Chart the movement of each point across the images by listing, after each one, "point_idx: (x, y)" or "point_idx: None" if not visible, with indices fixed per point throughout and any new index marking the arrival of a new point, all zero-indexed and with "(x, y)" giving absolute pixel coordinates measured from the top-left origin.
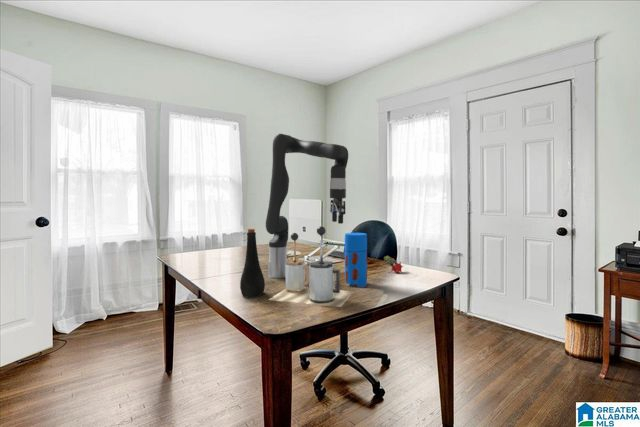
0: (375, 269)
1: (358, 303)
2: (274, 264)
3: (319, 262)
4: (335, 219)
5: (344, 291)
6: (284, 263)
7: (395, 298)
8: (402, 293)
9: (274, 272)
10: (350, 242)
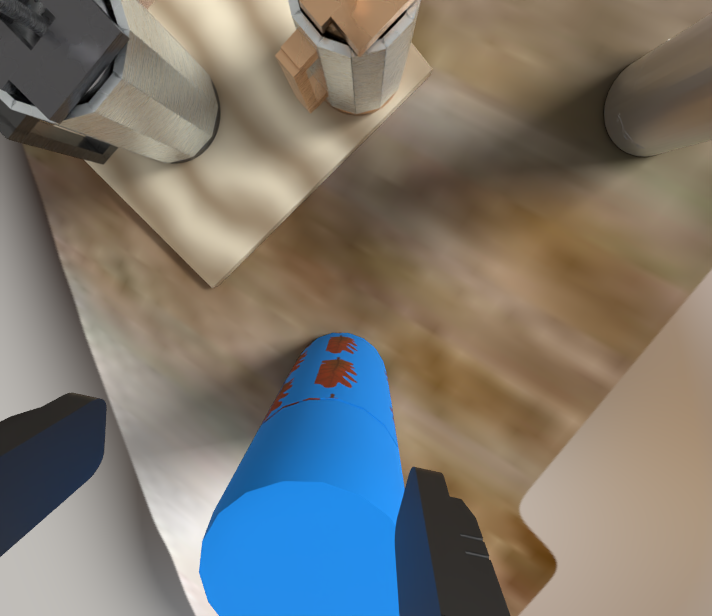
0: (508, 582)
1: (115, 238)
2: (705, 18)
3: (57, 17)
4: (401, 542)
5: (228, 253)
6: (679, 94)
7: (115, 385)
8: (155, 442)
9: (659, 46)
10: (267, 443)
